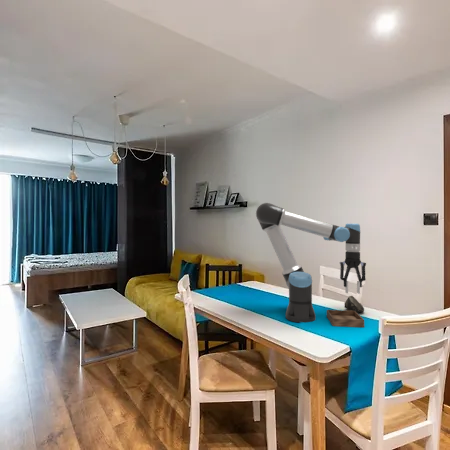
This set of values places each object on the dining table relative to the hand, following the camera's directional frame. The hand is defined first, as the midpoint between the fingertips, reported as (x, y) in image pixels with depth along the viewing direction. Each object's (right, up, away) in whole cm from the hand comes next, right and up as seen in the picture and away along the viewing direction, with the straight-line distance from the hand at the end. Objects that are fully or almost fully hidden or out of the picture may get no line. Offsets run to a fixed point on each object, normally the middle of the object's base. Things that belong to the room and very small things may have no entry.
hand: (352, 292), depth 164 cm
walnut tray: (-11, -11, -17) cm, 23 cm away
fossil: (+3, -12, 0) cm, 12 cm away
